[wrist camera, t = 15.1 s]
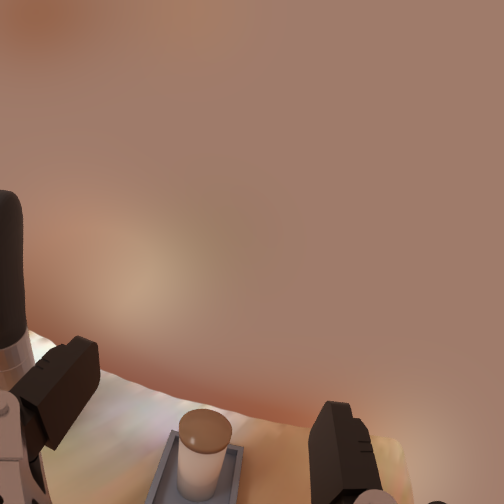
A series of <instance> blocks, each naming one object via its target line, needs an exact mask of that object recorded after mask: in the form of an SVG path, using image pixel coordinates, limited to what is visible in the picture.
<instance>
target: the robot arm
mask: <svg viewBox="0 0 504 504" xmlns="http://www.w3.org/2000/svg"><path fill="white" fill-rule="evenodd" d="M99 382H100V366H99V353H98V345H97V343H95V342H93V341H90V340H88V339H85V338H83V337H80V336H76V337H74V338H73V339H72V340H71V341H70V342H69V343H68V344H67V345H64V344H61V345H58V346H56V347H54V348H52V349H50V350H49V351H48V352H47V353H46V354H45V355H44V356H43V357H42V359H40V360H39V361H38V362H37V363H36V364H35V361H34V356H33V352H32V347H31V343H30V338H29V332H28V327H27V321H26V314H25V290H24V277H23V214H22V208H21V204H20V201H19V199H18V197H17V196H16V195H15V194H14V193H13V192H11V191H6V190H0V504H52V501H51V498H50V495H49V491H48V486H47V482H46V477H45V472H44V466H43V461H42V455H41V452H40V451H41V450H42V448H43V447H44V445H45V446H47V447H49V448H51V449H52V450H54V451H55V450H56V448H57V447H58V445H59V444H60V442H61V441H62V439H63V438H64V436H65V435H66V433H67V432H68V430H69V429H70V427H71V426H72V424H73V423H74V421H75V420H76V418H77V417H78V415H79V414H80V412H81V411H82V410H83V408H84V407H85V405H86V404H87V402H88V401H89V399H90V398H91V397H92V395H93V394H94V392H95V391H96V389H97V387H98V385H99ZM308 447H309V463H310V482H311V504H397V503H396V501H395V499H394V498H393V497H392V496H391V495H390V494H388V493H387V492H385V491H383V489H382V486H381V481H380V477H379V473H378V468H377V464H376V460H375V456H374V453H373V448H372V444H371V440H370V436H369V432H368V429H367V428H366V426H365V425H364V424H363V422H362V421H361V419H359V418H353V416H352V412H351V408H350V405H349V403H343V402H342V403H341V402H334V401H327V402H326V403H325V404H324V406H323V408H322V410H321V412H320V414H319V415H318V417H317V419H316V421H315V423H314V425H313V427H312V429H311V431H310V435H309V441H308ZM429 504H446V503H444V502H441V501H435V502H431V503H429Z"/></svg>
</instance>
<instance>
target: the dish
mask: <svg viewBox="0 0 504 504" xmlns="http://www.w3.org/2000/svg"><path fill="white" fill-rule="evenodd" d="M243 450H244V447H241V446H236V445H231V444H228V446H227V449H226V453H225V457H224V460H223V464H222V468H221V471H220V475H219V479H218V482H217V486H216V489H215V493H214V495H213V496H212V497H211V498H210V499H209V500H207V501H204V502H192V501H189V500H187V499H185V498H184V497H182V496H181V495H180V493H179V492H178V490H177V469H178V451H179V432H177V431H174V430H171V433H170V435H169V438H168V441H167V443H166V446H165V449H164V452H163V454H162V457H161V460H160V462H159V465H158V468H157V471H156V473H155V476H154V479H153V482H152V484H151V487H150V490H149V493H148V495H147V498H146V501H145V504H236V501H237V494H238V487H239V480H240V472H241V465H242V458H243Z"/></svg>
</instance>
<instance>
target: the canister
mask: <svg viewBox="0 0 504 504" xmlns="http://www.w3.org/2000/svg"><path fill="white" fill-rule="evenodd" d="M231 435H232V427H231V424H230V422H229V421H228V420H227V419H226V418H225V417H224V416H223V415H222V414H220V413H218V412H216V411H213V410H208V409H196V410H192V411H189V412H188V413H186V414H185V415H184V416H183V417H182V418H181V420H180V423H179V451H178V469H177V490H178V492H179V493H180V495H181V496H182V497H184V498H185V499H187V500H189V501H192V502H204V501H207V500H209V499H210V498H211V497H212V496H213V495H214V493H215V489H216V486H217V482H218V479H219V475H220V471H221V468H222V464H223V460H224V457H225V453H226V449H227V446H228V444H229V442H230V439H231Z"/></svg>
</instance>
